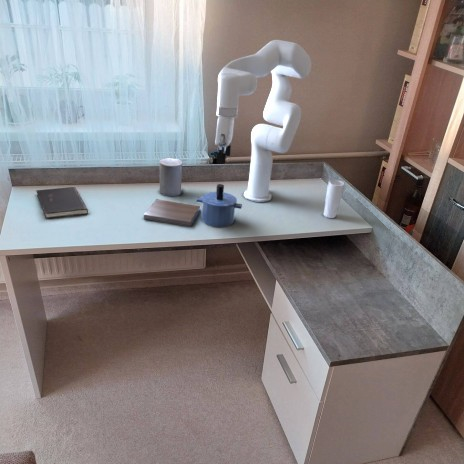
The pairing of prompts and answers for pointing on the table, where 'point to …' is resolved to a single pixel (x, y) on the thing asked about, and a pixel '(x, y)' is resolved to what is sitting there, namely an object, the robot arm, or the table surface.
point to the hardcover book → (61, 202)
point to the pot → (218, 214)
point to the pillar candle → (170, 176)
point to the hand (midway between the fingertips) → (223, 159)
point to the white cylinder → (333, 197)
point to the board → (172, 212)
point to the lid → (219, 198)
